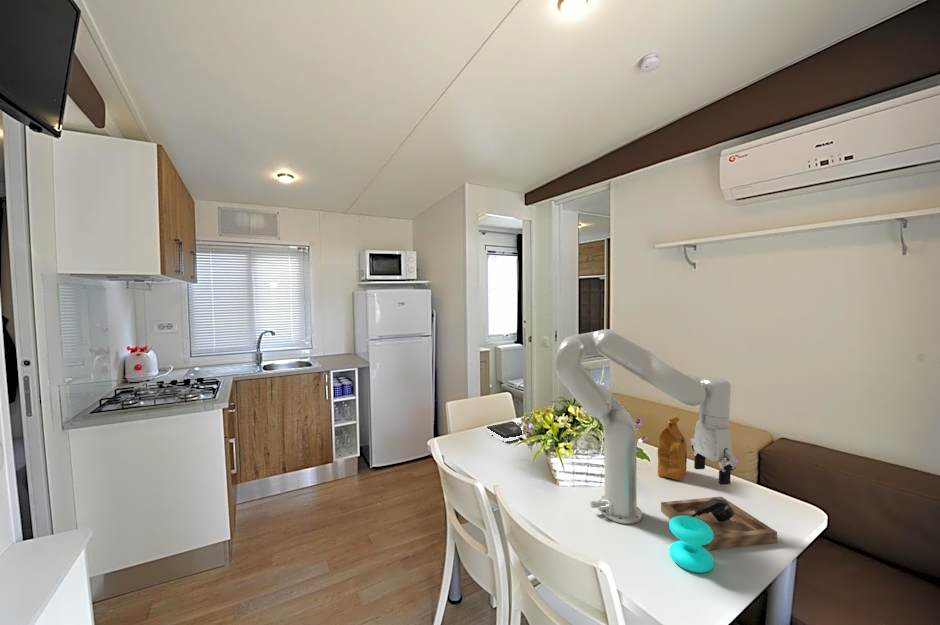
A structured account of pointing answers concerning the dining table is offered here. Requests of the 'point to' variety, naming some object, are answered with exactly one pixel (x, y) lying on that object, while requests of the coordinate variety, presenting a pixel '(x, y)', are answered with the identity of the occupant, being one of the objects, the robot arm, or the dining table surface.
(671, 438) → the coffee package
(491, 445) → the dining table surface
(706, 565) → the donuts
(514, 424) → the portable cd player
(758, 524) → the wooden tray
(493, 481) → the dining table surface
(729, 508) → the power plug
